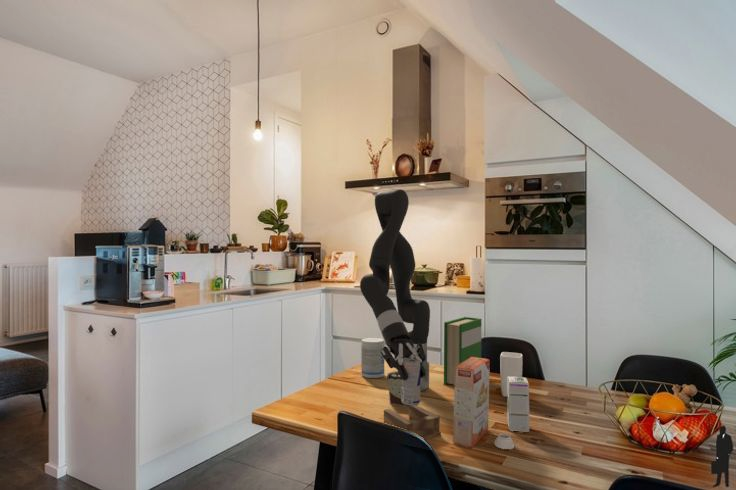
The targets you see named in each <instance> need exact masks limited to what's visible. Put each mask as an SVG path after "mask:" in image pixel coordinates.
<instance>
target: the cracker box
mask: <svg viewBox="0 0 736 490" xmlns="http://www.w3.org/2000/svg"><path fill="white" fill-rule="evenodd" d="M490 361H491V360H490V359H488V358H484V357H483V358H482V357H481V358H477V357H471V358H469V359H467V360H466V361H464V362H462V363H461V364H459V365H457V366H456V367H455V385H454V392H453V394H454V396H453V397H454V398H453V440H452V441H453V443H454V444H458V445H461V446H465V447H467V448H468V447H469V448H472V447H473V448H474V447H475V446H476V445H477V443H478V442H479V441H480V440H481V439H482V438H483V437H484V435H485V434H487V432H488V431H489V411H490V407H489V405H490V402H489V401H490V371H491V370H490V368H491V367H490V363H491V362H490Z"/></svg>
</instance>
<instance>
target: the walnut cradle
mask: <svg viewBox="0 0 736 490" xmlns="http://www.w3.org/2000/svg"><path fill="white" fill-rule="evenodd" d="M408 412H409V414H408V419H407V418H406V417H405V416H402V415H401V414H399V413H398V412H396V411H394V410H393V409H390V408H387V409H384V410H383V424H384V423H387V424H390V425H394V426H397V427H400V428H403V429H406V430H408V431H411V432H414V433H416V434H418V435H419V436H421V437H423V438H424V440H428V439H431V438H435V437H439V435H440V436H441V435H442V432H441V431H440V425H441V423H440V420H441V419H440V418H441V417H440V416H438V415H437V414H435V413H433V412H431V411H429V410H427V409H425V408H423V407H421V406H419V404H418V405H415V406H409V407H408Z"/></svg>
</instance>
